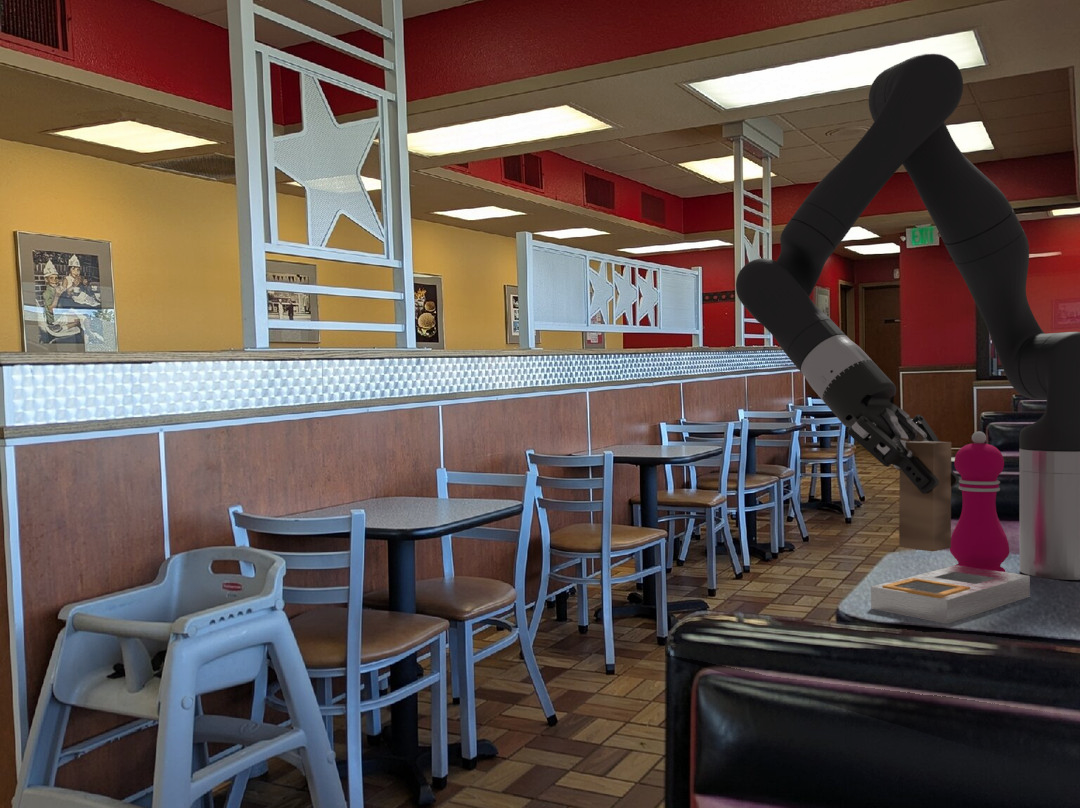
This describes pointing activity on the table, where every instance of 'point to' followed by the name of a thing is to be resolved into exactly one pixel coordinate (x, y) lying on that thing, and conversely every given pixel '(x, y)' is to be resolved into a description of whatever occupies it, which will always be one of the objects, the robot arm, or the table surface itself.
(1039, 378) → the robot arm
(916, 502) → the peg
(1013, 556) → the table surface
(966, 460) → the pepper mill
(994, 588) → the white socket base
